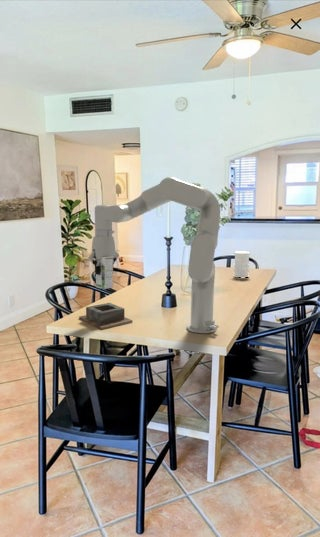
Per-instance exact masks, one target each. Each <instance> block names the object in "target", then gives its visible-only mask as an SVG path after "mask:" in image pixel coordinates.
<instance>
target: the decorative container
mask: <svg viewBox="0 0 320 537" xmlns="http://www.w3.org/2000/svg"><path fill="white" fill-rule="evenodd" d="M233 254H234V255H235V256H234V270H233V271H234V272H233V273H234V274H233V275H232V277H233V276H234V277H233V278H235V277H248V276H249V277H250V275H249V267H250V266H249V264H250V261H249V260H250V254H251V252H250V251H245V250H243V251H241V250H239V251H238V250H237V251H234V253H233Z"/></svg>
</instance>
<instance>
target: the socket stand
mask: <svg viewBox="0 0 320 537" xmlns="http://www.w3.org/2000/svg"><path fill="white" fill-rule="evenodd" d="M85 314H86V315H85ZM85 314H84V315H81V316H78V319H79V320H81V321H83V322H85V323H87V324H89V325H91V326H94V328H95V327H96V328H98V329H99V330H106V329H110V328H114V327H119V326H123V324H124V325H128V324H132V323H133V320H132V319H131V318H128V317H125V308H124V307H122V306H118V305H116V304H113V303H112V302H107V303H102V304H97V305H92V306H87V307H85Z"/></svg>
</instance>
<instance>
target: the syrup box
mask: <svg viewBox="0 0 320 537" xmlns="http://www.w3.org/2000/svg"><path fill="white" fill-rule="evenodd" d="M99 266H100V275H97V274H95V288H98V289H102V290H106V289H111V288H114V264H113V256H105V257H102V259H101V261H100V264H99Z"/></svg>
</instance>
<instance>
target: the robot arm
mask: <svg viewBox="0 0 320 537" xmlns="http://www.w3.org/2000/svg"><path fill="white" fill-rule="evenodd" d="M170 202H174V203H176V204H179V205H182V206H186V207H189V208H191V209H198V210H199V217H198V223H197V224H198V226H197V230H196V231H197V232H196V235H195V236H194V237H193V238H192V241H191V244H190V251H189V259H188V268H187V271H188V272H187V273H188V276H189V278H190V279H191V292H190V294H191V295H190V297H191V298H190V299H191V300H190V323H188V324H187V325H186V329H187V331H189V332H192V333H196V334H211V333H214V332H216V331H218V328H219V325H218V324H217V323H215V322H216V321H215V319H214V295H215V277H216V265H215V262H214V260H215V259H214V258H215V252H216V249H217V247H218V242H219V241H218V240H219V239H218V238H219V230H220V219H221V205H220V202H219V200H218V198H217V197H216V195H215V194H214V193H213V192H211V191H210V190H209V189H207V188H205V187H203V186H197V185H195V184H192V183H191V184H190V183H188V182H185V181H182V180H180V179H178V178H177V177H171V176H169V177H165V178H163V179H162V180H160V182H159V183H157V184H156V185H154V186H151V187H149V188H148V189H145V190H143V191H142V193H141V194H140V195H139V196H138V197H136V198H134V199H133V200H130V201H129V202H127V203H125V204H115V205H108V204H107V205H106V204H99V205H96V206H94V234H95V235H94V236H93V237H92V243H91V254H90V255H89V256H88V257H87V258H88V260H89V261H90V262H91V263H92V264H93V266H94V273H95V275H96V274H97V275H100V266H99V264H100V261H101V259H102V257H105V256H113V265H115V262H116V261H117V259H118V258H119V257H120V254H119V253H118V252H117V251H116V244H115V237H114V236H113V234H115V230H113V223H117V224H119V223H124V222H125V223H126V222H128V221H131V220H133V219H135V218H137V217H141V216H142V215H144V214H146V213H147V212H148V213H149V212H151V211H152V210H155V209H157V208H159V207H161V206H163V205H165V204H167V203H170Z"/></svg>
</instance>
